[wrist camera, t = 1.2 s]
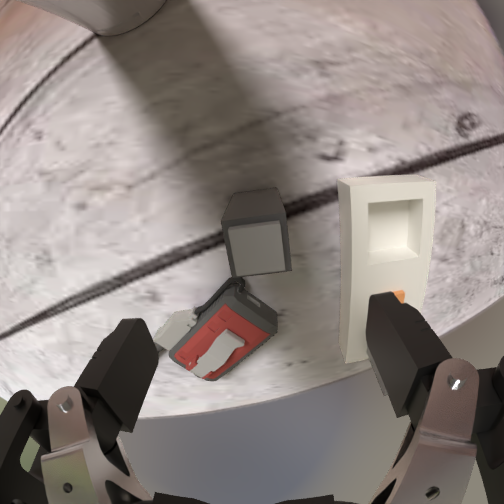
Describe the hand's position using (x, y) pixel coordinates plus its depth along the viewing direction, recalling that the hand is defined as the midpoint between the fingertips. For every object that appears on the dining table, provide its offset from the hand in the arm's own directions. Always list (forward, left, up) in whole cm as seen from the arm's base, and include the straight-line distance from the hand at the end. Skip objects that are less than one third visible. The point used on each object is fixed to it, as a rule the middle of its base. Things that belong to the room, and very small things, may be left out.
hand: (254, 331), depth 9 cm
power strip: (+7, +11, -15) cm, 20 cm away
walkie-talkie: (+13, -9, -16) cm, 23 cm away
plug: (0, 0, -15) cm, 15 cm away
